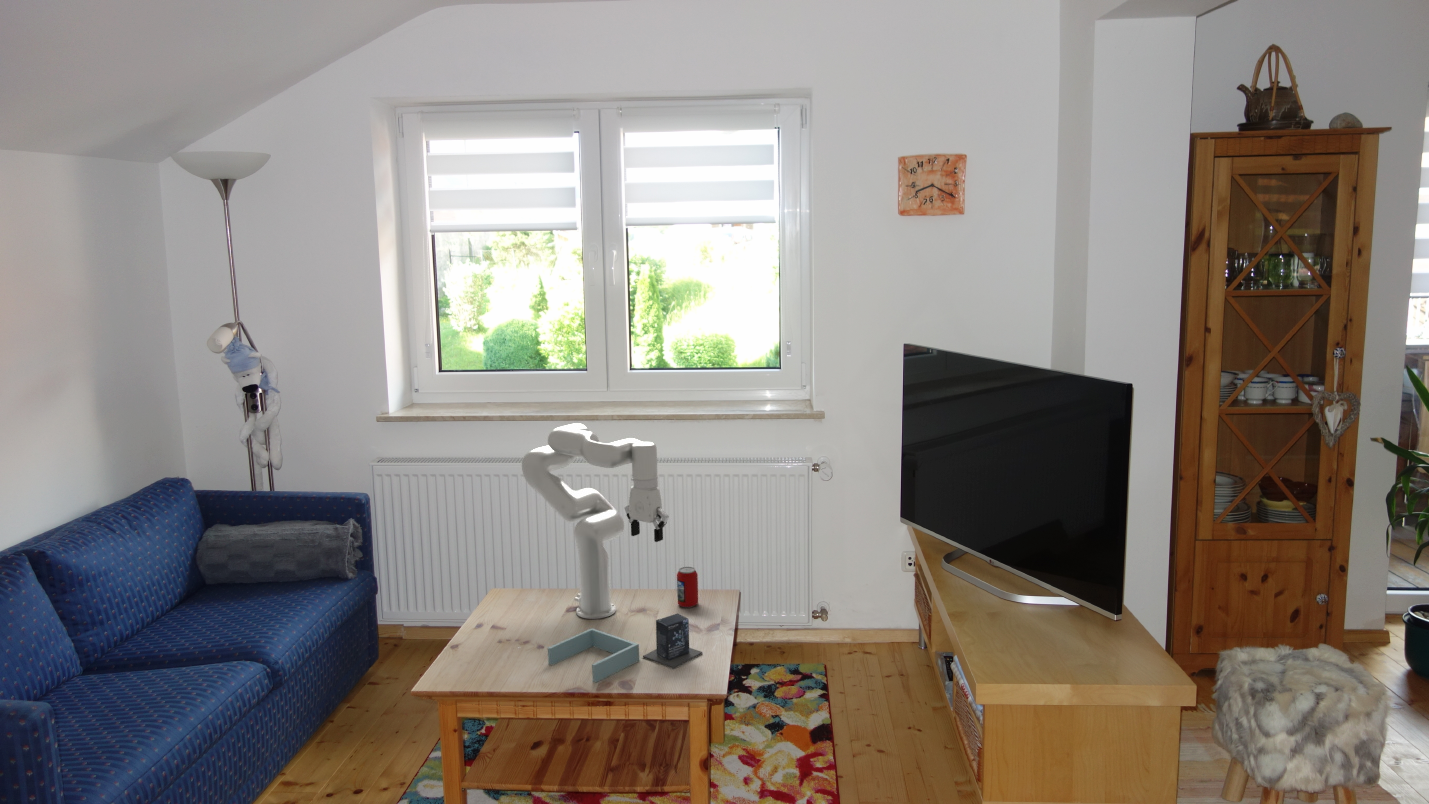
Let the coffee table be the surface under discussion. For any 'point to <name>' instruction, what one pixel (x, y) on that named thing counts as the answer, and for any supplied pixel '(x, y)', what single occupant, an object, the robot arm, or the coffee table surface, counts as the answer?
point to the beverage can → (687, 587)
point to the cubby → (621, 648)
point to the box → (672, 636)
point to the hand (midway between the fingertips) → (647, 537)
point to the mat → (675, 661)
